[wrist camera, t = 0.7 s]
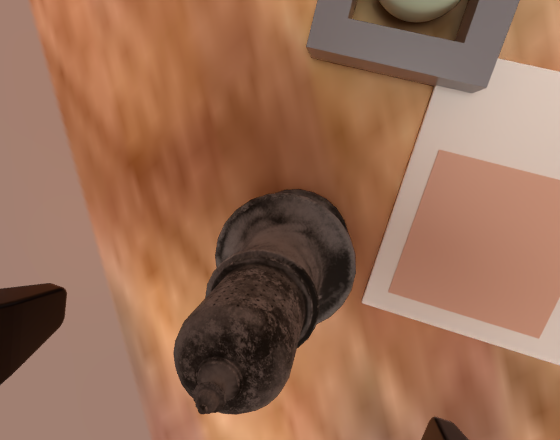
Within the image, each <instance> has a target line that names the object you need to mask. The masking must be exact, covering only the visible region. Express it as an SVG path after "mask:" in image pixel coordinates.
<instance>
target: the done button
mask: <svg viewBox="0 0 560 440" xmlns="http://www.w3.org/2000/svg"><path fill="white" fill-rule="evenodd" d="M379 1H380V3H381V5H382V6H383V7H384V8H385V10H387V11H388V12H389V13H390V14H391V15H393V16H394V17H396V18H398V19H400V20H403V21H407V22H426V21H430V20H433V19H436V18H438V17H440V16H442V15H444V14H446V13H447V12H449V11H450V10H451V9H453V8H454V7H455V6H456V5H457V4H458V3H459V2H460V0H379Z"/></svg>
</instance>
